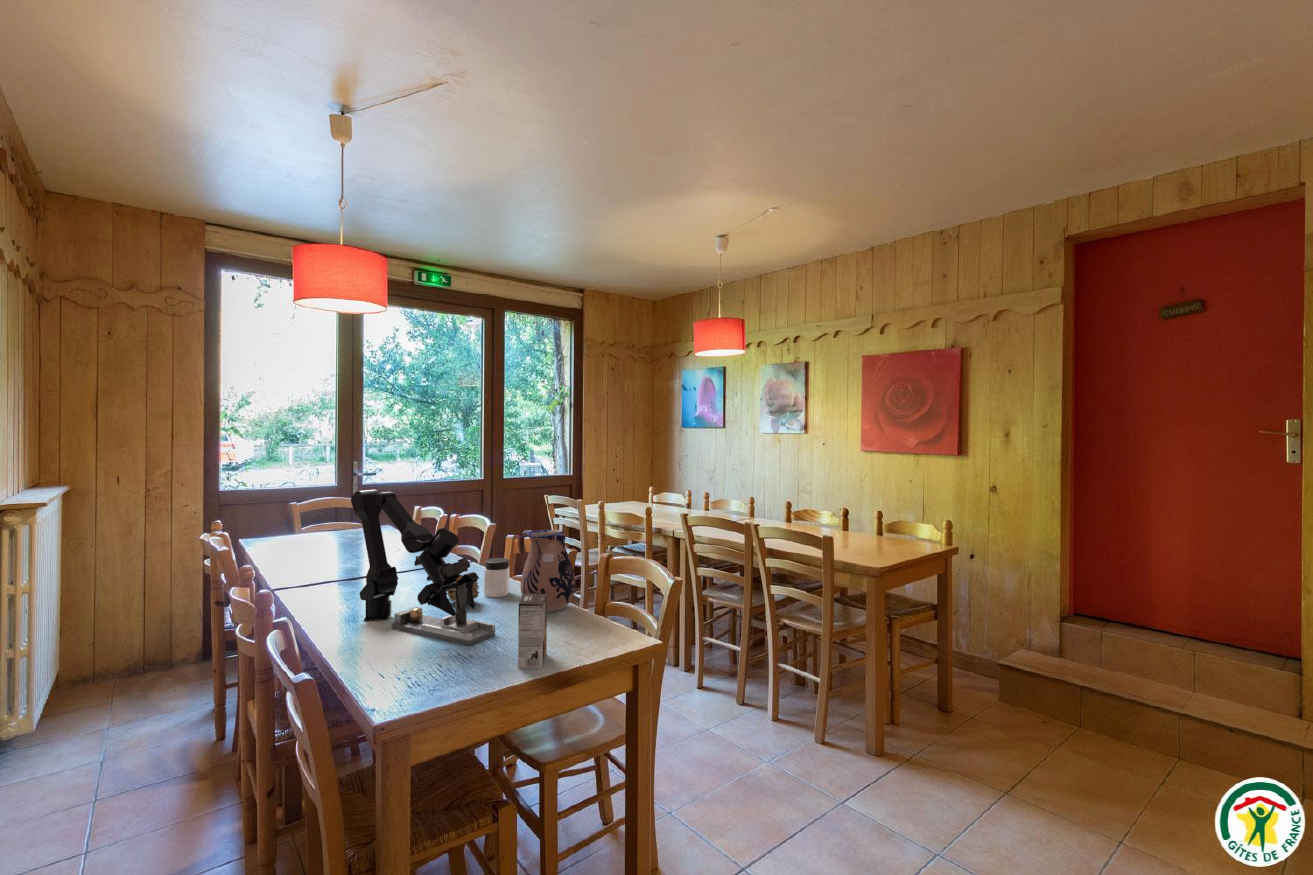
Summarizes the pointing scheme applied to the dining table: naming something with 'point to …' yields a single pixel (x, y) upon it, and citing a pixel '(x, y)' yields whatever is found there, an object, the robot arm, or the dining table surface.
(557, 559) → the ceramic pitcher
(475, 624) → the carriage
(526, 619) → the coffee box
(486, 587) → the jar
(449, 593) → the pine cone
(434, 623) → the base
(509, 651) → the dining table surface
